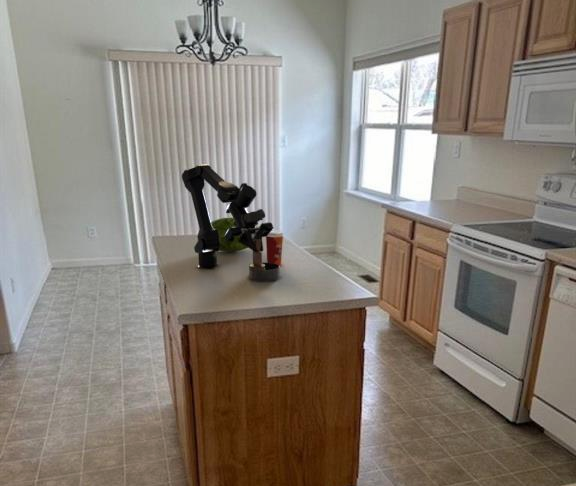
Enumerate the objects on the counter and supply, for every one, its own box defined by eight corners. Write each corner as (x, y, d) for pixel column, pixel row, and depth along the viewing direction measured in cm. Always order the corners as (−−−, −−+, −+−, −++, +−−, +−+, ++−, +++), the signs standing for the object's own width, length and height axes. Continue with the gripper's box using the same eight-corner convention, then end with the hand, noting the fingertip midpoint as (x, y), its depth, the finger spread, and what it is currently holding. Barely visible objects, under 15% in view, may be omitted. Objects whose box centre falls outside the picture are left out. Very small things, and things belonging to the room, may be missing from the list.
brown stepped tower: (246, 268, 194) (246, 238, 190) (258, 266, 197) (258, 236, 193) (255, 271, 190) (255, 241, 186) (268, 269, 193) (268, 239, 189)
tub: (244, 279, 202) (244, 268, 201) (255, 272, 213) (255, 261, 211) (273, 282, 199) (274, 271, 198) (282, 275, 210) (283, 263, 208)
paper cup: (281, 268, 219) (281, 234, 214) (263, 266, 220) (263, 233, 215) (285, 263, 226) (285, 230, 221) (267, 262, 228) (267, 229, 222)
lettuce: (267, 252, 245) (268, 218, 239) (211, 256, 236) (209, 221, 230) (257, 245, 258) (257, 213, 252) (203, 249, 248) (201, 215, 243)
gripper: (228, 203, 182) (248, 241, 178) (270, 199, 193) (290, 235, 190) (216, 223, 190) (234, 260, 187) (257, 218, 202) (275, 252, 198)
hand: (259, 251), depth 190 cm, fingers closed on brown stepped tower, 2 cm apart
